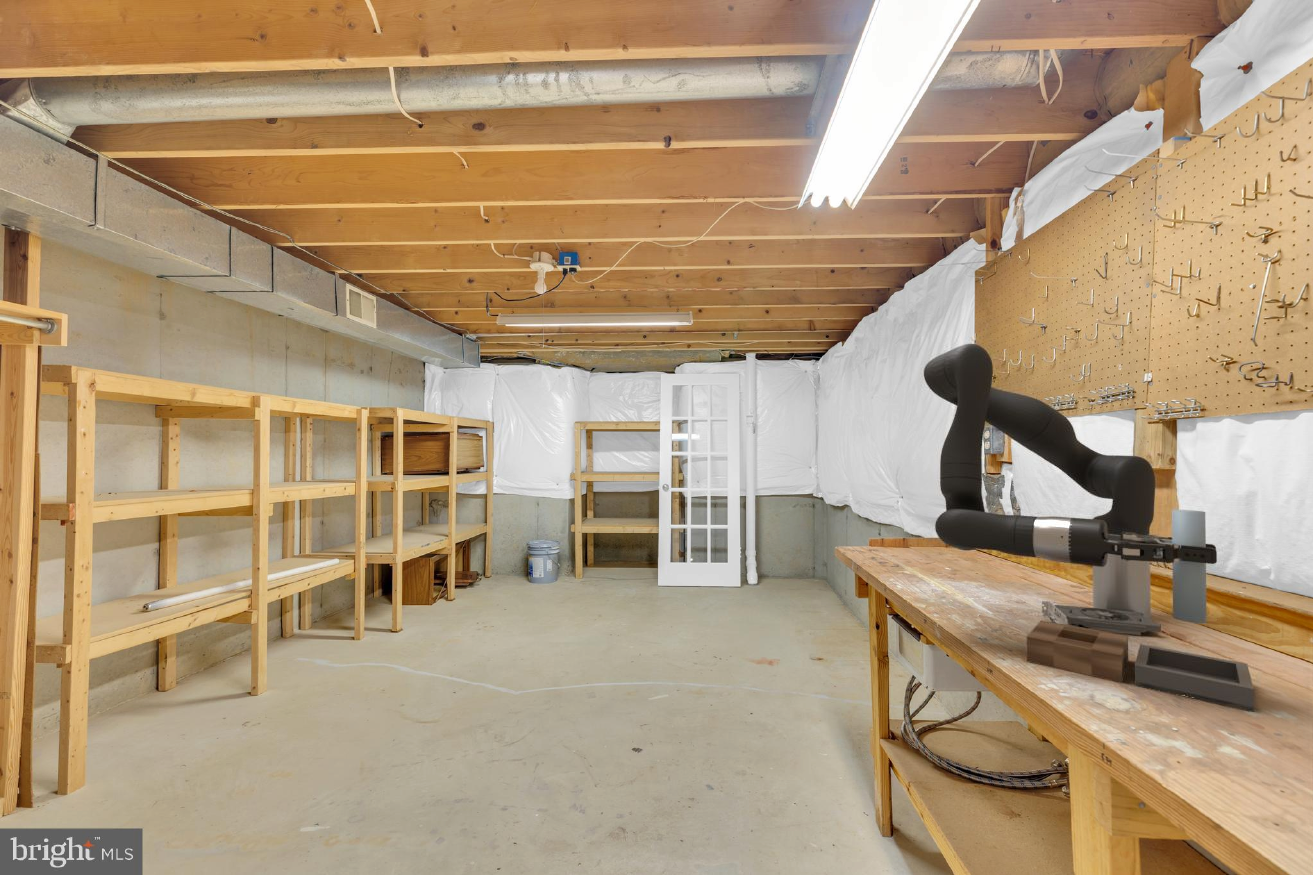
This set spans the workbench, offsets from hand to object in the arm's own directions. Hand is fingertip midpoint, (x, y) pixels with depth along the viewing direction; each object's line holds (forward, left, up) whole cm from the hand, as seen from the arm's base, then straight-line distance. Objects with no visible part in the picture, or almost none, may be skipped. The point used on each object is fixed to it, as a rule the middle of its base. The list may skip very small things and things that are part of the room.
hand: (1215, 554), depth 81 cm
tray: (0, -3, -20) cm, 20 cm away
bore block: (0, -16, -20) cm, 26 cm away
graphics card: (-24, -15, -20) cm, 35 cm away
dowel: (0, -3, -10) cm, 10 cm away
